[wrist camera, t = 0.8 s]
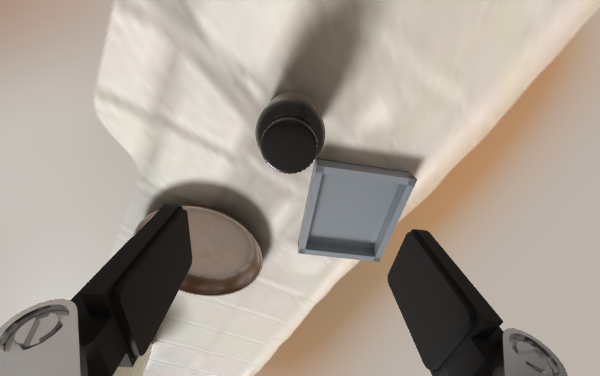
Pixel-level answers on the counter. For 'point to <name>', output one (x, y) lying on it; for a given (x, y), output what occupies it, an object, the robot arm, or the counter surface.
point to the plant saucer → (218, 253)
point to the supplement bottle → (290, 132)
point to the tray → (352, 209)
